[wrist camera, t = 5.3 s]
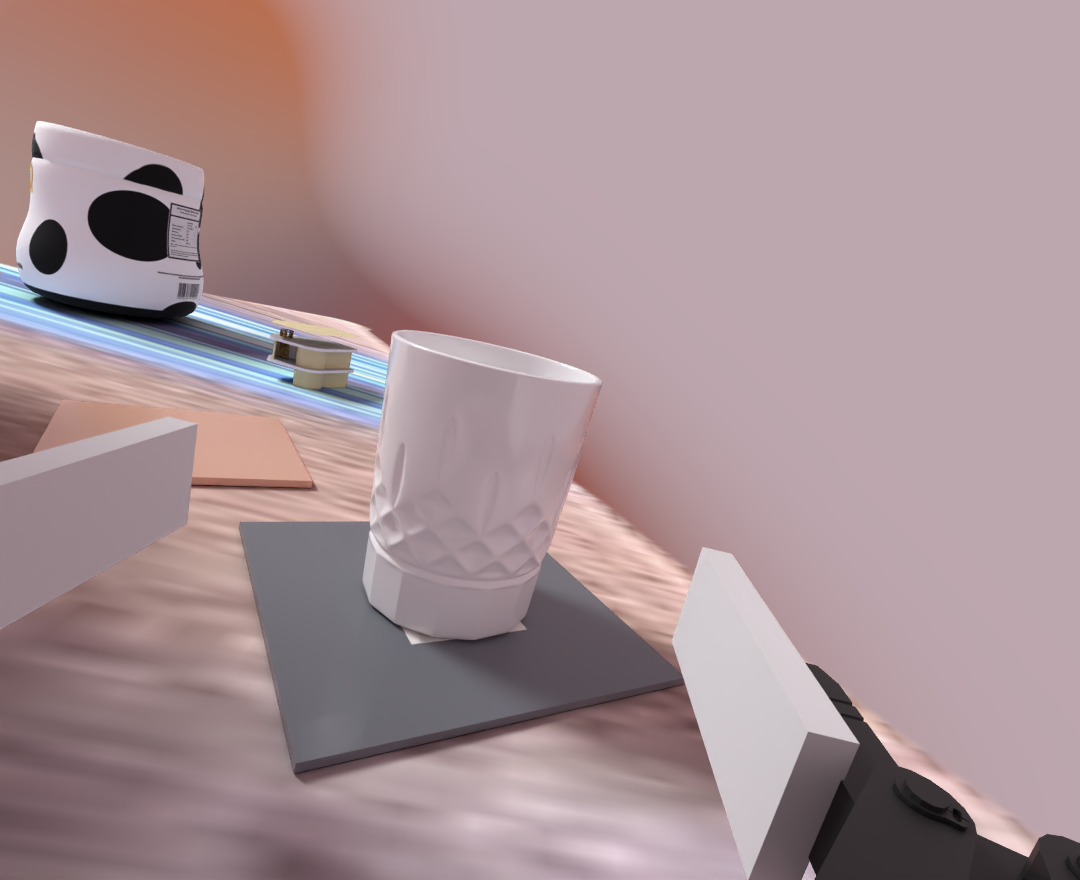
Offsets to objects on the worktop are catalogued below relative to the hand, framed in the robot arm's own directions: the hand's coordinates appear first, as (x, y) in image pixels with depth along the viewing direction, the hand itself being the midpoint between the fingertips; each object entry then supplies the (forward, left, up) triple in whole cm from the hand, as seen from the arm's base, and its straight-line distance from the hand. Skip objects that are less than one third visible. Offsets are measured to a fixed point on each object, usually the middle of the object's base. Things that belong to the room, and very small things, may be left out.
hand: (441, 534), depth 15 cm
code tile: (+4, +7, -6) cm, 10 cm away
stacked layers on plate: (+6, +46, -7) cm, 47 cm away
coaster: (-5, +25, -6) cm, 26 cm away
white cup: (+4, +7, -6) cm, 10 cm away
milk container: (-11, +73, -7) cm, 74 cm away
